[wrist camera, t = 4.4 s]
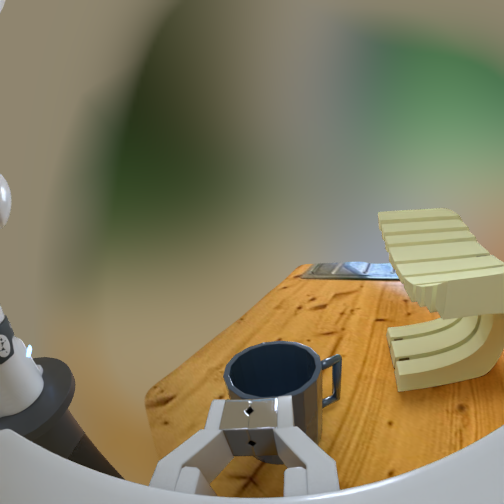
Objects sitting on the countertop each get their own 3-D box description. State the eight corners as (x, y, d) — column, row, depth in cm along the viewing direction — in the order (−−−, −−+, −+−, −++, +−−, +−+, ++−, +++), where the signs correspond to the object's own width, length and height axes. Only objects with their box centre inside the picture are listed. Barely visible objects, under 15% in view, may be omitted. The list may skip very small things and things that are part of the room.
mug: (259, 475, 19) (239, 414, 17) (235, 422, 27) (215, 356, 24) (358, 431, 22) (368, 360, 20) (321, 390, 30) (318, 323, 27)
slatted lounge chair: (523, 412, 13) (578, 259, 9) (405, 446, 18) (447, 280, 14) (454, 301, 41) (459, 207, 36) (379, 309, 46) (377, 212, 41)
